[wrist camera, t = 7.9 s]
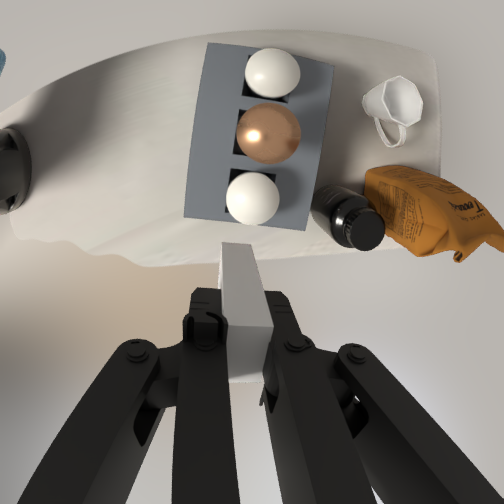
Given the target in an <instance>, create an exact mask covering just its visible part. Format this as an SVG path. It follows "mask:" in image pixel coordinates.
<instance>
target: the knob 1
mask: <svg viewBox="0 0 504 504" xmlns="http://www.w3.org/2000/svg"><path fill="white" fill-rule="evenodd" d="M245 79H246V82H247V84H248V86H249V92H250V93H251V95H252V96H253V97H255V98H259V99H268V98H279V97H282V96H284V95H286V94H288V93H289V92H291V91H292V90H293V89H294V88H295V87H296V86H297V84H298V82H299V80H300V68H299V65H298V63H297V61H296V60H295V59H294V58H293V57H292V56H291V55H290V54H289V53H287V52H285V51H283V50H280V49H275V48H267V49H263V50H260V51H258V52H256V53H255V54H253V55H252V56H251V58H250V59H249V61H248V63H247V66H246V69H245Z"/></svg>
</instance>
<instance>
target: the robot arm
mask: <svg viewBox="0 0 504 504" xmlns="http://www.w3.org/2000/svg"><path fill="white" fill-rule="evenodd" d="M5 62H6V56H5V53H4V52H3V51H2V50H1V49H0V75H1V72H2V70H3V68H4V65H5ZM30 179H31V158H30V153H29V149H28V146H27V143H26V141H25V139H24V138H23V136H22V135H21V134H20V133H19V132H18V131H16V130H14V129H10V128H8V129H0V215H3V214H7V213H9V212H11V211H13V210H15V209H16V208H18V207H19V206H20V205H21V203H22V202H23V200H24V199H25V197H26V194H27V192H28V189H29V185H30ZM262 375H263V377H264V382H265V384H264V388H263V391H262V395H261V398H260V404H259V405H260V406H262V405H263V402H264V405H265V411H266V416H267V422H268V427H269V433H270V438H271V443H272V449H273V454H274V460H275V465H276V471H277V476H278V481H279V486H280V491H281V497H282V502H283V504H377V502H376V499H375V496H374V493H373V491H372V488H373V489H374V491H375V492H376V493H377V495H378V496H379V497H380V499H381V500H382V502H383V503H384V504H504V499H503V498H502V497H501V496H500V495H499V494H498V493H497V491H496V490H495V489H494V488H493V487H492V486H491V484H490V483H489V482H488V481H487V479H486V478H485V477H484V476H483V475H482V474H481V472H480V471H479V470H478V469H477V468H476V467H475V466H474V464H473V463H472V462H471V461H470V460H469V459H468V458H467V456H466V455H465V454H464V453H463V452H462V451H461V449H460V448H459V447H458V446H457V445H456V444H455V443H454V442H453V441H452V439H451V438H450V437H449V436H448V435H447V434H446V433H445V431H444V430H443V429H442V428H441V427H440V426H439V425H438V424H437V423H436V422H435V420H434V419H433V418H432V417H431V416H430V415H429V414H428V413H427V412H426V410H425V409H424V408H423V407H422V406H421V405H420V404H419V403H418V402H417V401H416V399H415V398H414V397H413V396H412V395H411V394H410V393H409V392H408V391H407V390H406V389H405V388H404V386H403V385H401V383H400V382H399V381H398V380H397V379H396V378H395V377H394V376H393V375H392V374H391V372H389V370H388V369H387V368H386V367H385V366H384V365H383V364H382V363H381V362H380V361H379V360H378V359H377V357H375V355H374V354H373V353H372V352H371V351H370V350H368V349H367V348H366V347H364V346H362V345H359V344H354V343H350V344H345V345H343V346H341V347H340V349H339V351H338V353H336V352H331V351H326V350H322V349H318V348H316V347H315V344H314V343H313V341H312V340H311V339H310V338H308V337H307V336H305V335H303V334H302V333H301V330H300V328H299V325H298V323H297V320H296V318H295V315H294V313H293V310H292V308H291V305H290V302H289V300H288V298H287V297H286V296H285V295H284V294H283V293H282V292H281V291H264V289H263V286H262V282H261V279H260V275H259V272H258V268H257V264H256V261H255V257H254V253H253V250H252V246H251V244H239V243H226V242H222V245H221V256H220V267H219V279H218V289H213V288H198V287H197V288H196V290H195V291H194V292H193V293H192V294H191V301H190V308H189V313H188V314H187V315H185V317H184V319H183V340H182V341H181V342H180V343H178V344H176V345H174V346H171V347H167V348H160V349H157V348H156V346H155V345H154V344H153V343H151V342H149V341H147V340H142V339H132V340H128V341H126V342H124V343H122V344H121V345H120V346H119V347H118V348H117V350H116V351H115V352H114V353H113V355H112V356H111V358H110V359H109V360H108V362H107V363H106V364H105V366H104V367H103V368H102V370H101V371H100V373H99V374H98V375H97V377H96V378H95V380H94V381H93V383H92V384H91V385H90V387H89V388H88V390H87V391H86V393H85V394H84V395H83V397H82V398H81V400H80V401H79V403H78V404H77V406H76V407H75V409H74V410H73V412H72V413H71V415H70V416H69V418H68V419H67V421H66V422H65V424H64V425H63V427H62V428H61V430H60V432H59V433H58V434H57V436H56V438H55V439H54V441H53V442H52V444H51V446H50V447H49V449H48V451H47V452H46V454H45V455H44V457H43V459H42V460H41V462H40V464H39V465H38V467H37V469H36V471H35V472H34V474H33V476H32V477H31V479H30V481H29V483H28V485H27V486H26V488H25V490H24V491H23V494H22V495H21V497H20V499H19V501H18V503H17V504H125V503H126V501H127V498H128V496H129V494H130V491H131V489H132V486H133V484H134V482H135V479H136V477H137V474H138V472H139V470H140V467H141V465H142V463H143V460H144V458H145V456H146V453H147V451H148V448H149V446H150V444H151V442H152V439H153V437H154V434H155V432H156V430H157V428H158V425H159V423H160V421H161V418H162V416H163V413H164V412H165V408H167V407H172V406H176V416H175V431H174V446H173V466H172V504H240V497H239V488H238V480H237V470H236V460H235V451H234V439H233V428H232V418H231V405H230V392H229V382H238V383H240V382H241V383H247V382H248V383H258V382H259V383H260V382H261V378H262ZM355 396H356V397H357V398H358V399H359V401H358V400H357V399H356V398H355ZM371 486H372V488H371Z"/></svg>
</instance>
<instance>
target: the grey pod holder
mask: <svg viewBox="0 0 504 504" xmlns="http://www.w3.org/2000/svg"><path fill="white" fill-rule="evenodd" d="M260 50H263V49H260V48H253V47H246V46H238V45H230V44H219V43H208V45H207V50H206V54H205V59H204V65H203V70H202V75H201V81H200V86H199V92H198V98H197V104H196V111H195V118H194V125H193V132H192V139H191V147H190V155H189V164H188V173H187V183H186V194H185V206H184V217H185V218H196V219H205V220H215V221H225V222H234V223H241V222H239V221H237V220H236V219H235V218H234V217H233V216H232V215H231V214H230V212H229V210H228V207H227V203H226V194H227V189H228V187H229V185H230V183H231V182H232V181H233V179H235V178H236V177H237V176H238V175H240V174H242V173H246V172H258V173H261V174H264V175H265V176H267V177H268V178H269V179H270V180H271V181H273V183H274V184H275V185H276V187H277V189H278V192H279V199H280V200H279V206H278V209H277V211H276V213H275V214H274V215H273V216H272V217H271V218H270V219H269V220H268V221H266V222H264V223H262V224H258V225H260V226H268V227H277V228H285V229H293V230H301V231H305V230H306V225H307V220H308V216H309V211H310V206H311V201H312V196H313V191H314V186H315V181H316V176H317V171H318V165H319V160H320V154H321V149H322V143H323V137H324V131H325V125H326V119H327V113H328V106H329V99H330V93H331V86H332V78H333V71H334V66H333V65H329V64H326V63H323V62H319V61H315V60H312V59H308V58H304V57H300V56H295V55H291V54H290V55H291V56H292V57H293V58H294V59H295V60H296V61H297V63H298V65H299V68H300V80H299V82H298V84H297V86H296V87H295V88H294V89H293V90H292V91H291V92H289V93H288V94H286V95H284V96H282V97H279V98H268V99H259V98H255V97H253V96H252V95H251V93H250V92H249V86H248V84H247V82H246V79H245V69H246V66H247V63H248V61H249V59H250V58H251V56H252V55H253V54H255V53H256V52H258V51H260ZM261 103H276V104H279V105H282V106H284V107H286V108H287V109H288V110H290V111H291V112H292V113H293V114H294V116H295V117H296V119H297V120H298V123H299V125H300V130H301V138H300V143H299V145H298V147H297V149H296V151H295V152H294V153H293V154H292V156H290V157H289V158H288V159H286V160H285V161H282V162H280V163H276V164H263V163H259V162H256V161H254V160H252V159H251V158H249V157H248V156H247V155H246V154H245V153H244V152H243V151H242V150H241V148H240V146H239V144H238V141H237V136H236V131H237V125H238V123H239V121H240V119H241V117H242V116H243V114H244V113H245V112H246V111H247V110H248V109H250V108H251V107H253V106H255V105H257V104H261Z"/></svg>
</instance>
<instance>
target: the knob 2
mask: <svg viewBox="0 0 504 504" xmlns="http://www.w3.org/2000/svg"><path fill="white" fill-rule="evenodd" d="M279 200H280V199H279V192H278V189H277V187H276V185H275V184H274V183H273V181H271V180H270V179H269V178H268V177H267V176H265V175H264V174H261V173H258V172H246V173H242V174H240V175H238V176H237V177H236V178H235V179H233V181H232V182H231V183H230V185H229V187H228V189H227V194H226V203H227V207H228V210H229V212H230V214H231V215H232V216H233V217H234V218H235V219H236V220H237V221H239V222H241V223H243V224H246V225H258V224H262V223H264V222H266V221H268V220H269V219H270V218H271V217H272V216H273V215H274V214H275V213H276V211H277V209H278V206H279Z"/></svg>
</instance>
